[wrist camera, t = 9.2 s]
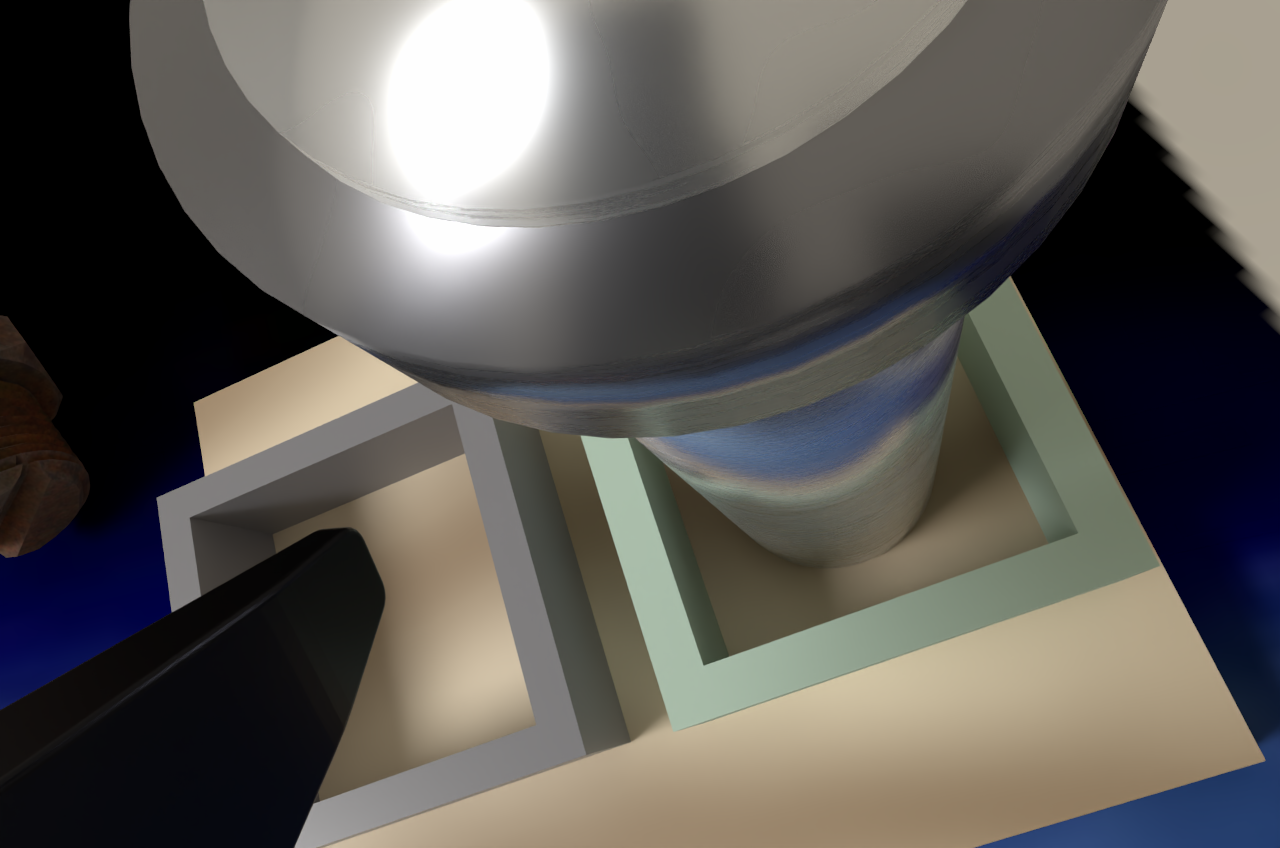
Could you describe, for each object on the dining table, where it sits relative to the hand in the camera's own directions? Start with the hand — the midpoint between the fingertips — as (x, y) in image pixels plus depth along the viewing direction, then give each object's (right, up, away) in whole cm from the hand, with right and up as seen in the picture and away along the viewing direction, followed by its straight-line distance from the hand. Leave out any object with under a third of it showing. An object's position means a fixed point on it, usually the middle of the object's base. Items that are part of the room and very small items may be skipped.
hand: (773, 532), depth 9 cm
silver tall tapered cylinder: (+2, 0, +8) cm, 9 cm away
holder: (-6, -3, +11) cm, 13 cm away
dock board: (-2, -2, +10) cm, 10 cm away
